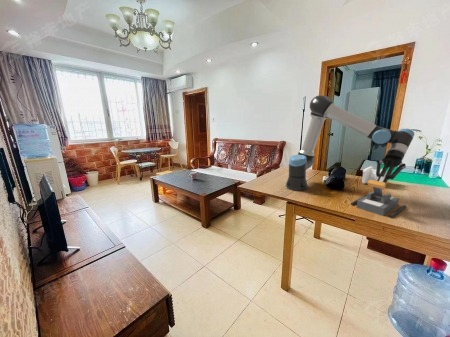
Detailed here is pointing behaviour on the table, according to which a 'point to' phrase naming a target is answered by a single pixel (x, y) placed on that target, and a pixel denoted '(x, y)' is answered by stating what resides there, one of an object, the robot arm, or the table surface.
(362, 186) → the table surface
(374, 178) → the cable organizer
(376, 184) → the lever
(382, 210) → the breaker block
